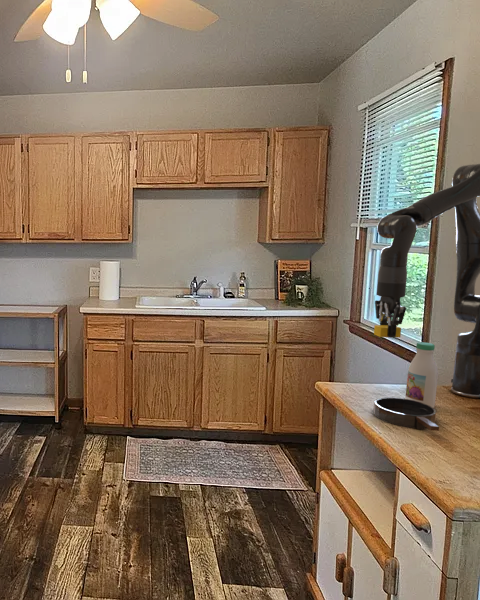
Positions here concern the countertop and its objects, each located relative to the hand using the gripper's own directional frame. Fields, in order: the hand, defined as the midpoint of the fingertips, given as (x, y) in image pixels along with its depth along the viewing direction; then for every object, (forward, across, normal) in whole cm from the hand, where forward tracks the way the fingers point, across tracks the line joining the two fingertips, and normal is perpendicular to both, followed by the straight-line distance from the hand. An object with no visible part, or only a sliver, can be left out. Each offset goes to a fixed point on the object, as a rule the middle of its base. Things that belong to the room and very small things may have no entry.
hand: (387, 335), depth 156 cm
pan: (+22, -13, 0) cm, 26 cm away
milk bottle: (+22, -2, -10) cm, 25 cm away
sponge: (0, 0, 0) cm, 0 cm away
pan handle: (+22, -24, 0) cm, 32 cm away
